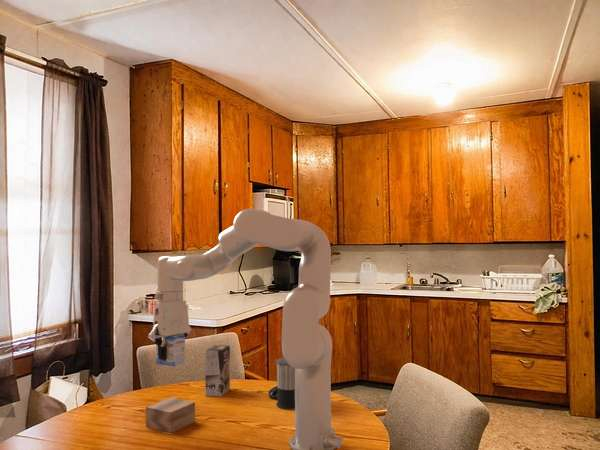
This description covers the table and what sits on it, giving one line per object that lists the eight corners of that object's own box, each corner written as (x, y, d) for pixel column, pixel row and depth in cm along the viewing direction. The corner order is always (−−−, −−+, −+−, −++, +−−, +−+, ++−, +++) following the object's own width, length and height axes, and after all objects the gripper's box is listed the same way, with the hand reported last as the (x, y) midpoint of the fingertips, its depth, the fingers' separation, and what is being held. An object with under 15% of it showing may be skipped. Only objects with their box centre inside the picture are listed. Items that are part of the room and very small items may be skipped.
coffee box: (221, 396, 166) (221, 350, 166) (204, 395, 167) (204, 350, 168) (230, 389, 174) (230, 345, 175) (214, 388, 176) (214, 344, 176)
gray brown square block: (194, 422, 142) (194, 402, 143) (170, 434, 134) (170, 412, 134) (170, 416, 147) (170, 397, 148) (145, 427, 139) (145, 407, 139)
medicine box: (155, 363, 141) (155, 334, 142) (166, 360, 145) (166, 332, 146) (175, 366, 138) (175, 336, 138) (185, 363, 142) (185, 334, 142)
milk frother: (296, 411, 150) (295, 364, 150) (254, 405, 157) (253, 360, 157) (314, 398, 163) (314, 355, 163) (274, 392, 170) (274, 351, 170)
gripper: (153, 300, 133) (153, 365, 132) (200, 295, 147) (201, 354, 146) (138, 298, 138) (138, 361, 137) (185, 293, 151) (186, 350, 150)
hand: (170, 357), depth 141 cm, fingers closed on medicine box, 5 cm apart
